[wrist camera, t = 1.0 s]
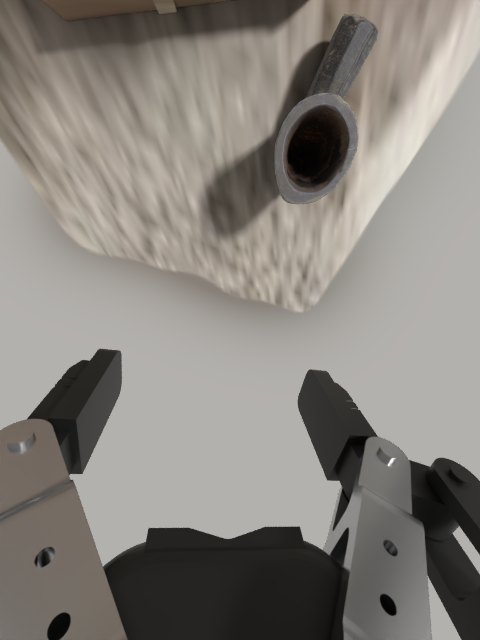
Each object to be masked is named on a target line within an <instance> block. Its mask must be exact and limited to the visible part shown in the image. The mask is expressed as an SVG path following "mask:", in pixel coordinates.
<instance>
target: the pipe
mask: <svg viewBox="0 0 480 640" xmlns="http://www.w3.org/2000/svg"><path fill="white" fill-rule="evenodd" d="M377 34H378V30H377V27H376V26H375V24H374V23H372V22H371V21H370V20H368V19H367V18H365V17H362V16H360V15H356V14H349V15H348V14H344V16H343V17H342V19H341V21H340V23H339V25H338V27H337V29H336V31H335V33H334V35H333V37H332V39H331V41H330V44H329V46H328V48H327V50H326V53H325V55H324V57H323V60H322V62H321V64H320V66H319V69H318V71H317V73H316V75H315V78H314V80H313V82H312V84H311V87H310V89H309V92H308V94H307V97H306V98H305V99H303V100H302V101H300V102H299V103H298V104H297V105H296V106H295V107H294V108H293V109H292V110H291V111H290V113H289V114H288V115H287V117H286V119H285V120H284V122H283V124H282V126H281V128H280V131H279V133H278V136H277V139H276V143H275V149H274V169H275V175H276V181H277V185H278V189H279V191H280V194H281V196H282V198H283V199H284V200H285V201H286V202H288V203H291V204H308V203H312V202H315V201H317V200H319V199H320V198H322V197H324V196H325V195H326V194H328V193H329V192H330V191H331V190H333V189H334V188H335V187H336V185H337V184H338V183H339V181H340V180H341V179H342V178H343V177H344V176H345V174H346V173H347V171H348V170H349V168H350V166H351V164H352V161H353V159H354V157H355V154H356V150H357V146H358V126H357V120H356V118H355V115H354V113H353V111H352V109H351V107H350V106H349V104H348V103H347V102H344V101H343V99H344V98H345V96H346V94H347V92H348V90H349V89H350V87H351V85H352V83H353V81H354V79H355V78H356V76H357V74H358V72H359V70H360V69H361V67H362V65H363V63H364V61H365V59H366V58H367V56H368V54H369V52H370V51H371V49H372V47H373V45H374V43H375V41H376V40H377Z"/></svg>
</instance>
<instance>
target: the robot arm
mask: <svg viewBox="0 0 480 640" xmlns="http://www.w3.org/2000/svg"><path fill="white" fill-rule="evenodd" d="M121 367H122V365H121V352H120V351H118V350H108V349H99V350H98V351H97V352H96V354H95V355H94V356H93V358H92V359H91V360H90V361H87V360H82V361H80V362H79V363H77V364H75V365H73V366H72V367H70V368H69V369H68V370H67V372H66V373H65V374H64V375H63V376H62V379H60V380H59V381H58V382H57V384H56V385H55V387H54V388H53V389H52V390H51V391H50V392H49V393H48V395H47V396H46V397H45V398H44V399H43V401H42V402H41V403H40V404H39V405H38V406H37V408H36V409H35V410H34V411H33V412H32V414H31V415H30V416H29V417H28V419H27V420H23V421H19V422H16V423H13V424H11V425H9V426H7V427H5V428H3V429H2V430H0V640H432V634H431V619H430V605H429V592H428V577H427V575H428V576H429V579H430V581H431V583H432V584H433V586H434V588H435V590H436V592H437V594H438V596H439V598H440V599H441V602H442V603H443V605H444V607H445V609H446V611H447V613H448V615H449V617H450V618H451V620H452V622H453V624H454V626H455V628H456V630H457V632H458V634H459V636H460V638H461V639H462V640H480V574H479V573H478V571H477V570H476V568H475V567H474V565H473V564H472V562H471V561H470V559H469V558H468V556H467V555H466V553H465V552H464V551H463V549H462V547H461V546H460V544H459V543H458V541H457V540H456V538H455V537H454V535H453V534H452V533H453V532H454V531H455V530H456V529H457V528H458V527H459V526H460V527H461V529H462V530H463V532H464V533H465V534H466V536H467V537H468V538H469V540H470V541H471V543H472V544H473V546H474V547H475V549H476V550H477V551H478V553H479V554H480V481H479V480H478V479H477V478H476V477H475V476H474V475H473V474H472V473H471V472H470V471H468V470H467V469H466V468H464V467H463V466H461V465H460V464H458V463H456V462H454V461H452V460H449V459H445V458H438V459H436V460H435V461H434V462H433V464H432V465H431V467H429V466H426V465H423V464H420V463H417V462H413V461H410V460H408V458H407V456H406V455H405V454H404V452H403V451H402V450H401V449H400V448H399V447H397V446H396V445H395V444H393V443H392V442H390V441H388V440H386V439H383V438H380V437H378V436H377V435H376V433H375V432H374V430H373V429H372V427H371V426H370V425H369V423H368V422H367V420H366V419H365V417H364V416H363V414H362V413H361V411H360V410H358V407H357V406H356V404H355V403H354V402H353V400H352V398H351V397H350V396H349V394H348V393H347V391H346V390H344V389H343V388H342V387H341V386H339V384H337V383H334V381H333V380H332V378H331V377H330V375H329V373H328V372H327V371H321V370H320V371H319V370H309V371H308V372H307V374H306V377H305V379H304V382H303V385H302V388H301V391H300V393H299V396H298V408H299V412H300V414H301V416H302V419H303V421H304V424H305V426H306V428H307V431H308V434H309V436H310V438H311V441H312V444H313V446H314V449H315V451H316V453H317V456H318V458H319V461H320V463H321V466H322V468H323V471H324V473H325V476H326V478H327V480H332V481H340V483H341V485H342V487H341V489H340V490H339V493H338V497H337V501H336V505H335V509H334V514H333V517H332V521H331V525H330V529H329V534H328V537H327V540H326V543H325V546H324V548H323V550H321V549H320V548H318V547H317V546H314V545H313V544H310V543H308V542H306V541H303V537H302V534H301V530H300V527H264V528H261V529H258V530H255V531H253V532H250V533H247V534H244V535H241V536H238V537H236V538H232V539H224V538H220V537H217V536H214V535H211V534H207V533H204V532H201V531H197V530H194V529H191V528H149V529H148V534H147V539H146V542H144V543H142V544H139V545H136V546H134V547H132V548H130V549H128V550H126V551H124V552H122V553H121V554H119V555H118V556H116V557H115V558H114V559H112V560H111V561H110V562H108V563H107V564H106V565H104V567H103V566H102V563H101V560H100V557H99V554H98V551H97V549H96V545H95V542H94V539H93V536H92V533H91V531H90V528H89V525H88V522H87V519H86V516H85V513H84V510H83V507H82V504H81V501H80V498H79V495H78V492H77V489H76V486H75V484H74V482H73V480H70V477H69V475H70V474H83V471H84V469H85V467H86V465H87V463H88V461H89V459H90V457H91V454H92V452H93V450H94V448H95V446H96V444H97V442H98V439H99V437H100V435H101V433H102V431H103V429H104V427H105V425H106V422H107V420H108V418H109V416H110V414H111V412H112V409H113V407H114V405H115V403H116V401H117V399H118V397H119V394H120V390H121V384H122V371H121V369H122V368H121Z"/></svg>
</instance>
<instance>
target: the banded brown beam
mask: <svg viewBox="0 0 480 640" xmlns="http://www.w3.org/2000/svg"><path fill="white" fill-rule="evenodd" d="M42 1H43V2H44V3H45V4H47V5H48V6H49V7H50V8H51V9H53V10H54V11H55V12H56V13H57V14H58V15H60V16H61V17H62V18H63V19H64V20H66V21H71V20H79V19H87V18H95V17H103V16H111V15H119V14H127V13H135V12H143V11H151V10H157V11H158V13H159V14H166V13H174V12H177V10H176V7H183V6H191V5H199V4H207V3H215V2H224V1H232V0H42Z"/></svg>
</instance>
